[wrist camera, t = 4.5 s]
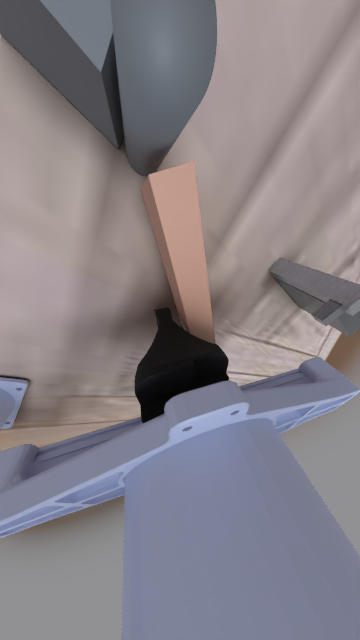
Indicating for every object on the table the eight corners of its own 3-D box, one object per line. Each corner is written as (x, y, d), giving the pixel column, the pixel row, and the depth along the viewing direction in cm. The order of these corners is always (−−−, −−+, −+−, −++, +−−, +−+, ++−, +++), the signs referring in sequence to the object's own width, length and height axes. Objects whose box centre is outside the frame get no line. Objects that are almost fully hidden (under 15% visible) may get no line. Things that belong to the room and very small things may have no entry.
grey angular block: (289, 314, 20) (349, 354, 14) (257, 281, 15) (327, 323, 10) (308, 297, 18) (381, 334, 13) (280, 257, 14) (374, 288, 9)
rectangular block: (137, 191, 9) (143, 175, 5) (167, 182, 9) (198, 159, 5) (183, 336, 17) (200, 377, 13) (198, 330, 17) (220, 370, 13)
